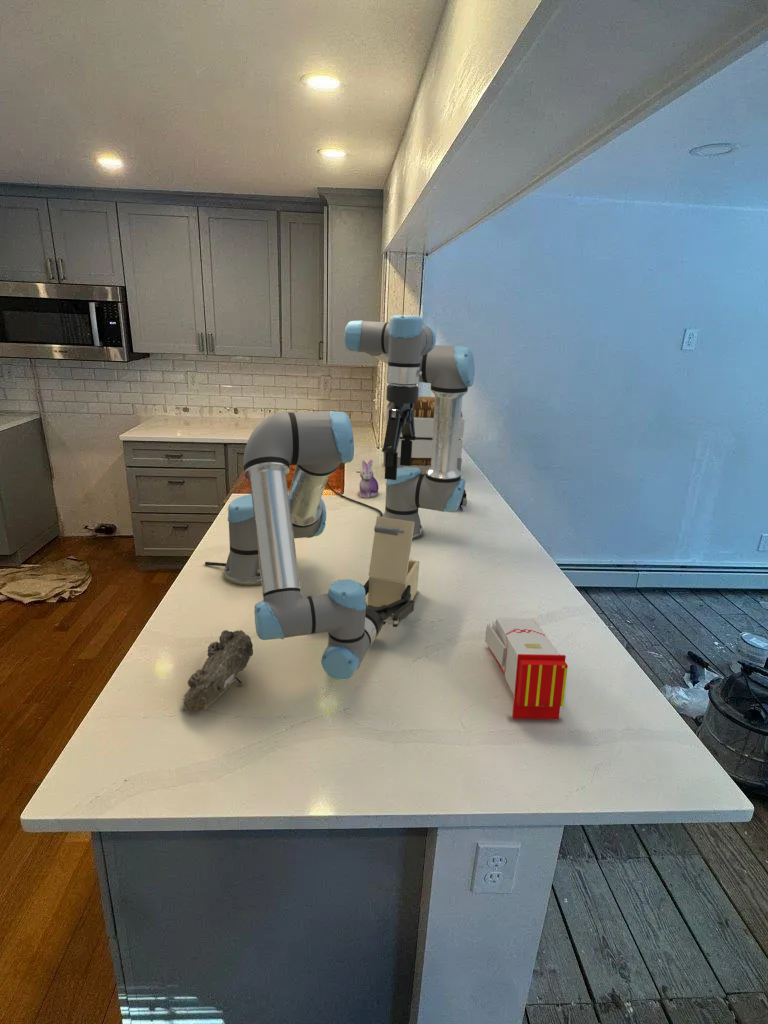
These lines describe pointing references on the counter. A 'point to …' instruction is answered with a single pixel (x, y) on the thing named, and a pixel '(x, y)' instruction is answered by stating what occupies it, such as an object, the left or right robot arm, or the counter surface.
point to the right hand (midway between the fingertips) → (398, 472)
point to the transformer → (424, 433)
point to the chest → (392, 587)
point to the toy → (529, 667)
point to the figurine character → (463, 500)
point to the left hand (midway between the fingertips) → (389, 586)
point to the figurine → (368, 481)
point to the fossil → (219, 669)
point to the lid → (391, 549)
